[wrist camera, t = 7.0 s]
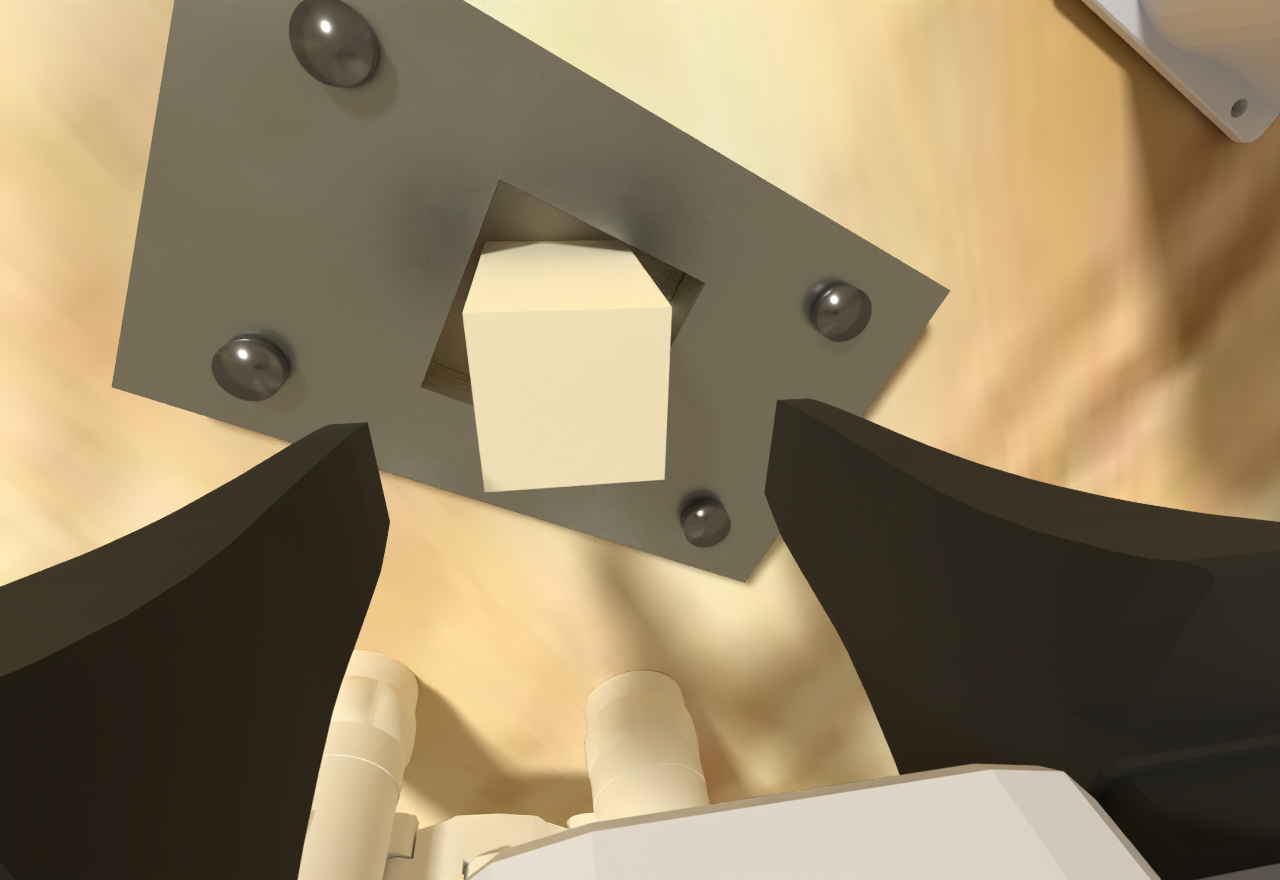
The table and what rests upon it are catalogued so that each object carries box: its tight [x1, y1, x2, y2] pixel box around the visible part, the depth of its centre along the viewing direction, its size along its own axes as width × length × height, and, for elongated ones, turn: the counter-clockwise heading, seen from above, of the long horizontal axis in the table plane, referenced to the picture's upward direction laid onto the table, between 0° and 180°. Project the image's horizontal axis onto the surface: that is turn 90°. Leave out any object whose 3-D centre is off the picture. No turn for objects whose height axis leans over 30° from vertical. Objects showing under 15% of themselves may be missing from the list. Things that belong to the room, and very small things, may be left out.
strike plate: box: [112, 0, 950, 582], centre depth 18 cm, size 20×12×3 cm, turn 63°
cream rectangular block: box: [462, 240, 672, 492], centre depth 16 cm, size 4×4×7 cm
